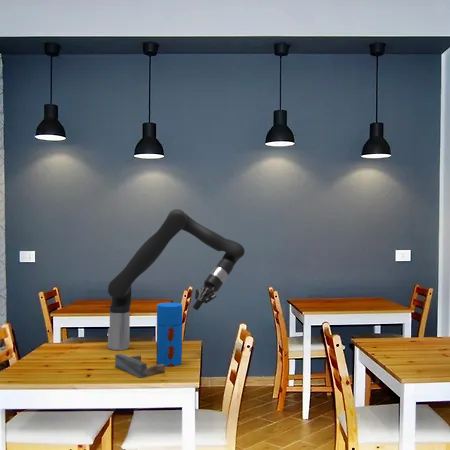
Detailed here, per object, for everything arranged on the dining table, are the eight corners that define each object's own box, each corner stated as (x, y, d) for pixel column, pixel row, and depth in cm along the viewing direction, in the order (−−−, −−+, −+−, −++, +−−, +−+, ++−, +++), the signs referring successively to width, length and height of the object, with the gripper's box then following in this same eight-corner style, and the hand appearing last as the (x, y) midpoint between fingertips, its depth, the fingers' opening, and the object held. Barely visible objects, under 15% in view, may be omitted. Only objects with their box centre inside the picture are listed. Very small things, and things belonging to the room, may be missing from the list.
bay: (139, 362, 229) (139, 350, 228) (164, 372, 214) (164, 359, 214) (115, 366, 221) (115, 354, 221) (140, 377, 207) (140, 365, 207)
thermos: (158, 367, 221) (158, 307, 220) (154, 360, 231) (155, 303, 231) (184, 365, 224) (184, 306, 223) (179, 359, 234) (180, 302, 234)
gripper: (202, 272, 247) (181, 301, 239) (221, 274, 237) (199, 305, 229) (211, 282, 251) (190, 311, 243) (230, 285, 241) (209, 316, 233)
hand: (194, 308), depth 236 cm, fingers closed
